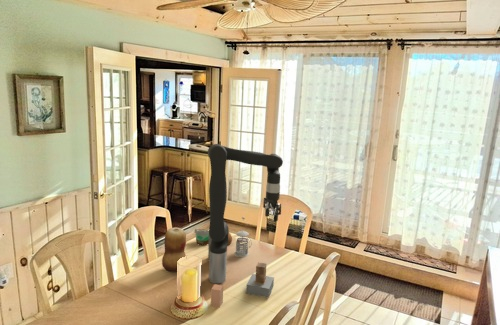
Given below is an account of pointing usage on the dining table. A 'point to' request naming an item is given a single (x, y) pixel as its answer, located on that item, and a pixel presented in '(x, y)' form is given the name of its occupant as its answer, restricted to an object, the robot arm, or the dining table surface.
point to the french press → (243, 251)
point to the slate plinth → (260, 286)
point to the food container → (202, 236)
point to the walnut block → (260, 273)
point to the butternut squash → (173, 248)
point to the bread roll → (229, 238)
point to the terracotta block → (217, 295)
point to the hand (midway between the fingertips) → (271, 218)
